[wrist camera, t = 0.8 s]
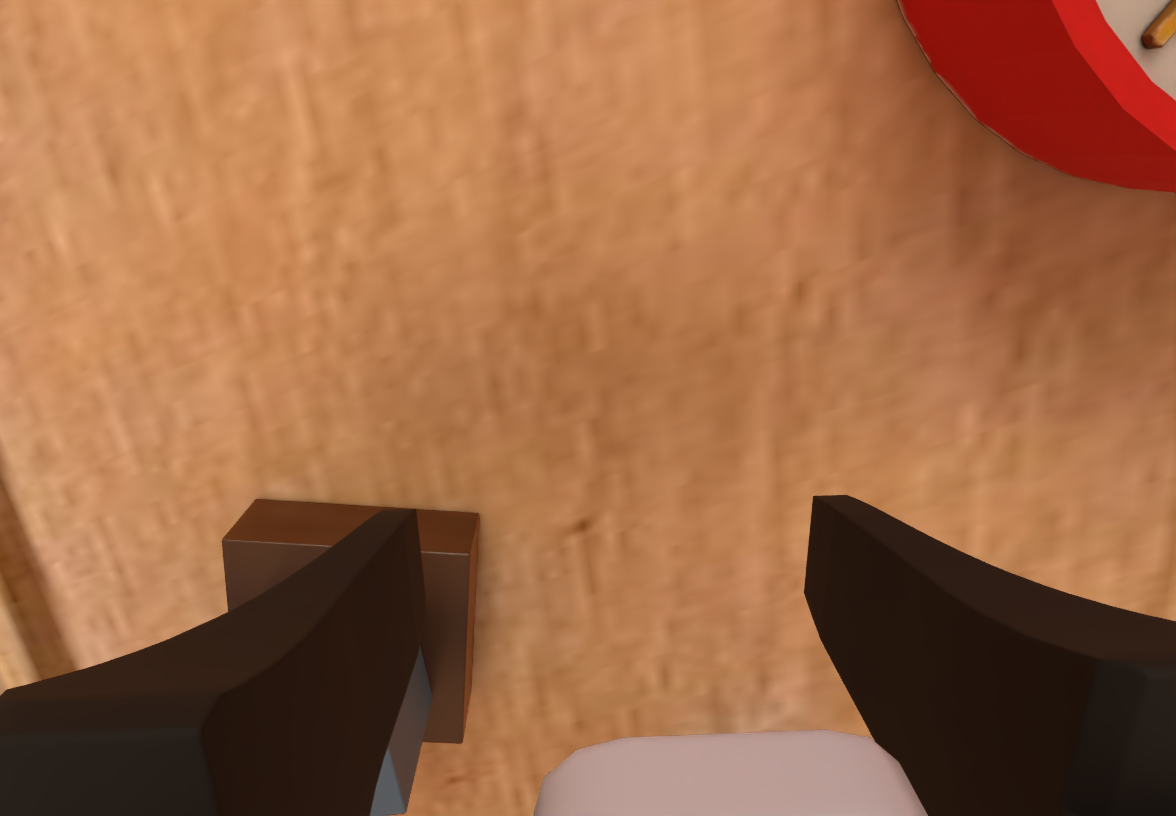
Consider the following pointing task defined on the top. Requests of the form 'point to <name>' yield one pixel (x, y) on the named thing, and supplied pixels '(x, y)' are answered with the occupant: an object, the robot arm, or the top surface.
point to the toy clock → (1064, 79)
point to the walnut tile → (449, 558)
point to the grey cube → (404, 746)
